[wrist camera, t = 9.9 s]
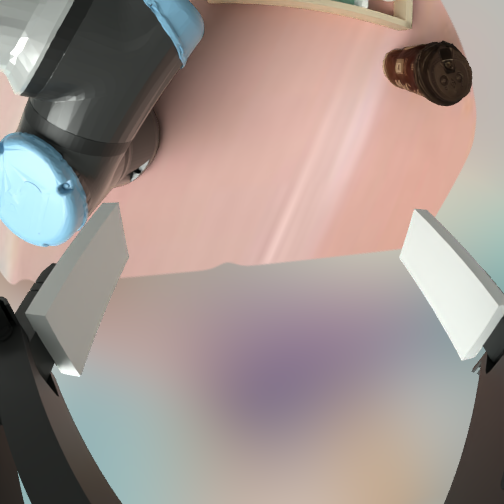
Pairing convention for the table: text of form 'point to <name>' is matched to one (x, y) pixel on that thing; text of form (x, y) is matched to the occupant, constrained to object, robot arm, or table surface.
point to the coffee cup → (430, 72)
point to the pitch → (346, 10)
